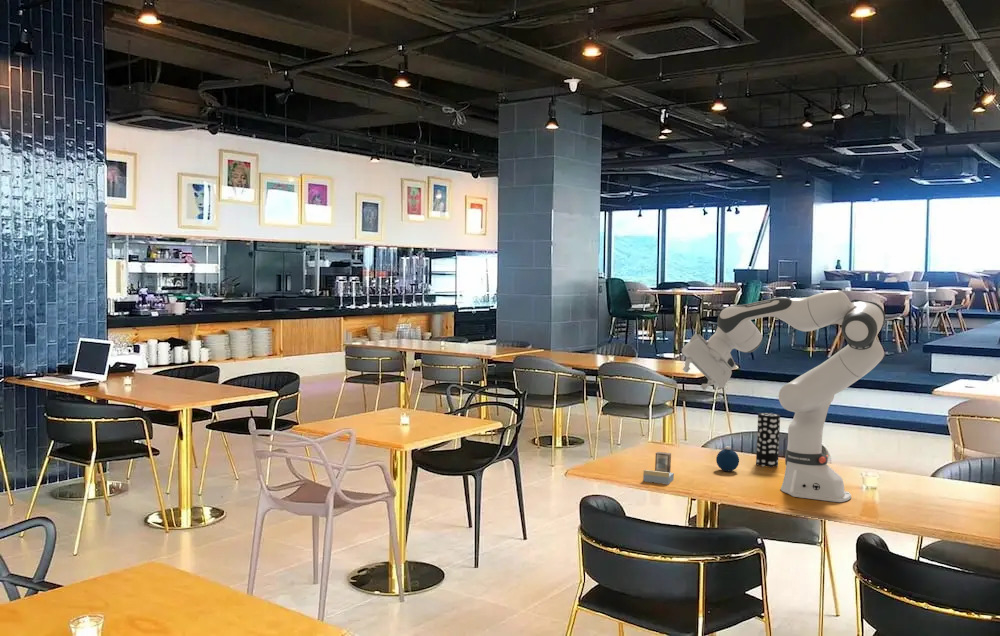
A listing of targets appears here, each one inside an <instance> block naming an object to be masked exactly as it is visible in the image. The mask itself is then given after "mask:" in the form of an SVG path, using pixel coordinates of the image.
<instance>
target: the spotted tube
mask: <svg viewBox="0 0 1000 636" xmlns="http://www.w3.org/2000/svg"><path fill="white" fill-rule="evenodd" d="M780 424H781V415H780V414H778V413H773V412H772V413H770V412H759V413H758V414H757V430H756V432H757V433H756V435H757V436H756V454H755V457H756V459H755V465H757V464H758V465H757V466H759V465H761V466H760V467H764V466H769V467H768V468H774V467H773V466H777V467H779V456H780V455H779V453H780V452H779V450H780V448H779V447H780V429H781V428H780Z"/></svg>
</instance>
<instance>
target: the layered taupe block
mask: <svg viewBox="0 0 1000 636" xmlns="http://www.w3.org/2000/svg"><path fill="white" fill-rule="evenodd" d="M671 462H672V453H671V452H663V451H657V452H655V465H654V471H661V472H669V473H671V466H672V465H671Z"/></svg>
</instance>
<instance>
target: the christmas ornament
mask: <svg viewBox="0 0 1000 636" xmlns="http://www.w3.org/2000/svg"><path fill="white" fill-rule="evenodd" d="M731 448H732V447H731V445H727V446H725V448H723V449H721V450H720V451H719V452H718V453H717V455H716V459H715V461H716V464H717V466H718V468H719V469H721V470H722V471H724V472H732V471H735V470H736V469H737V468H738V466H739V464H740V458H739V455H738V453H737V452H736V451H735V450H733V449H731Z"/></svg>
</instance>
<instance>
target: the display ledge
mask: <svg viewBox="0 0 1000 636" xmlns="http://www.w3.org/2000/svg"><path fill="white" fill-rule="evenodd" d="M674 474H675V473H674V472H670V473H669V472H661V471H655V470H652V469H643V474H642V475H643V477H642V479H643V480H642V481H643V482H644V481H645V482H646V483H652V482H654V483H653V484H660V483H662V484H661V485H669V484H671V483H672V482H673V481H674V476H675V475H674ZM670 482H671V483H670Z"/></svg>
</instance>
